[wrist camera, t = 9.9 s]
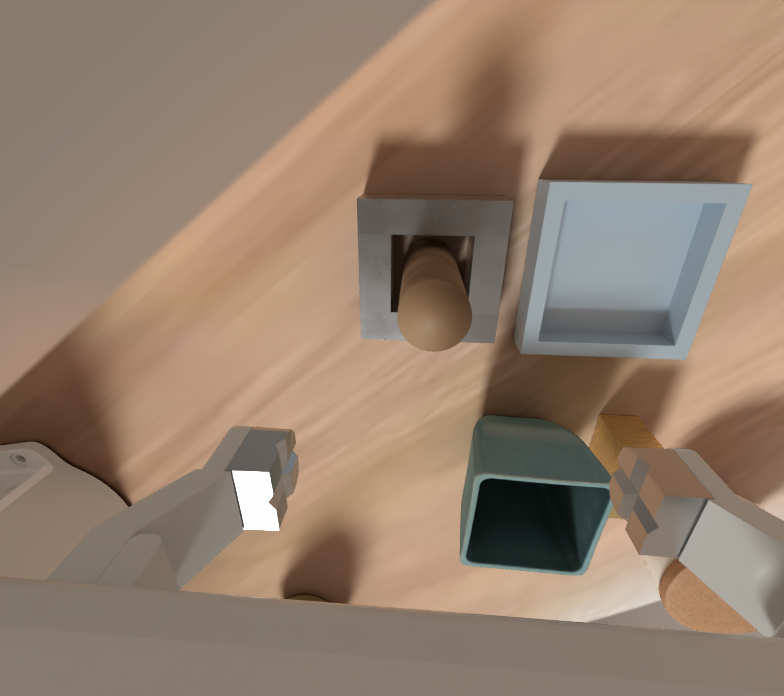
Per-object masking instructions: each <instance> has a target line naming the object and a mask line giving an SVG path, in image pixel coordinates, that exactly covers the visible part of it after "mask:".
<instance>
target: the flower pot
mask: <svg viewBox="0 0 784 696" xmlns="http://www.w3.org/2000/svg"><path fill="white" fill-rule="evenodd" d="M611 477H612V476H611V475H610V474H609V472H608V471H607V470H606V469H605V467H604V466H603V465H602V464H601V462H600V461H599V460H598V458H597V457H596V456H595V455H594V454H593V452H592V451H591V450H590V449H589V447H588V446H587V445H586V444H585V443H584V442H583V441H582V440H581V439H580V438H579V437H578V436H577V435H575V434H574V433H573V432H571V431H569V430H568V429H566V428H564V427H562V426H560V425H557V424H555V423H552V422H549V421H546V420H543V419H533V418H520V417H507V416H495V415H486V416H484V417H482V418H481V419H480V420H479V421H478V422H477V424H476V425H475V428H474V431H473V436H472V442H471V449H470V455H469V461H468V467H467V473H466V479H465V484H464V490H463V495H462V502H461V523H460V562H461V563H462V564H463V565H467V566H473V567H474V566H475V567H488V568H498V569H506V570H519V571H527V572H539V573H551V574H560V575H583V574H584V573H585V572H586V570H587V569H588V567H589V565H590V562H591V559H592V557H593V554H594V551H595V548H596V546H597V543H598V541H599V539H600V536H601V533H602V531H603V528H604V526H605V524H606V522H607V519H608V517H609V516H610V512H611V511H612V508H613V505H612V502H611V498H610V488H609V484H610V480H611Z"/></svg>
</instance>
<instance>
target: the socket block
mask: <svg viewBox="0 0 784 696" xmlns="http://www.w3.org/2000/svg"><path fill="white" fill-rule="evenodd" d="M513 204H514V201H513V200H511V199H509V198H507V197H505V196H493V195H422V194H362V195H361V196H360V197H358V198H357V218H358V251H359V285H360V318H361V339H381V340H406V339H405V338H404V337H403V335H402V334H401V332H400V329H399V326H398V322H397V314H398V306H399V298H400V297H393V264H394V235H441V236H468V246H467V257H466V268H465V279H464V287H465V290H466V293H467V296H468V299H469V302H470V305H471V309H472V323H471V326H470V329H469V331H468V333H467V335H466V336H465V337H464V338H463V340H462V341H460V342H473V343H495V336H496V328H497V321H498V314H499V306H500V299H501V292H502V284H503V277H504V270H505V262H506V255H507V248H508V240H509V233H510V226H511V218H512V211H513Z"/></svg>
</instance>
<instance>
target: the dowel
mask: <svg viewBox="0 0 784 696" xmlns="http://www.w3.org/2000/svg"><path fill="white" fill-rule="evenodd" d="M397 322H398V326H399V329H400V332H401V334H402V335H403V337H404V338H405V339H406V340H407V341H408V342H409V343H410V344H411V345H413V346H415V347H417V348H419V349H421V350H425V351H432V352H434V351H443V350H447V349H449V348H452V347H453V346H455V345H457V344H458V343H459V342H460V341H462V340H463V338H464V337H465V336H466V335H467V333H468V331H469V329H470V326H471V323H472V309H471V305H470V302H469V299H468V296H467V293H466V290H465V287H464V284H463V281H462V278H461V275H460V272H459V269H458V266H457V263H456V260H455V257H454V254H453V252H452V250H451V249H450V247H449V246H448V245H447V244H446V243H444V242H443V241H441V240H438V239H434V238H426V239H422V240H420V241H418V242H416V243H414V244H413V245H412V246H411V247H410V248H409V250H408V252H407V253H406V256H405V260H404V268H403V276H402V283H401V291H400V298H399V306H398V314H397Z"/></svg>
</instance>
